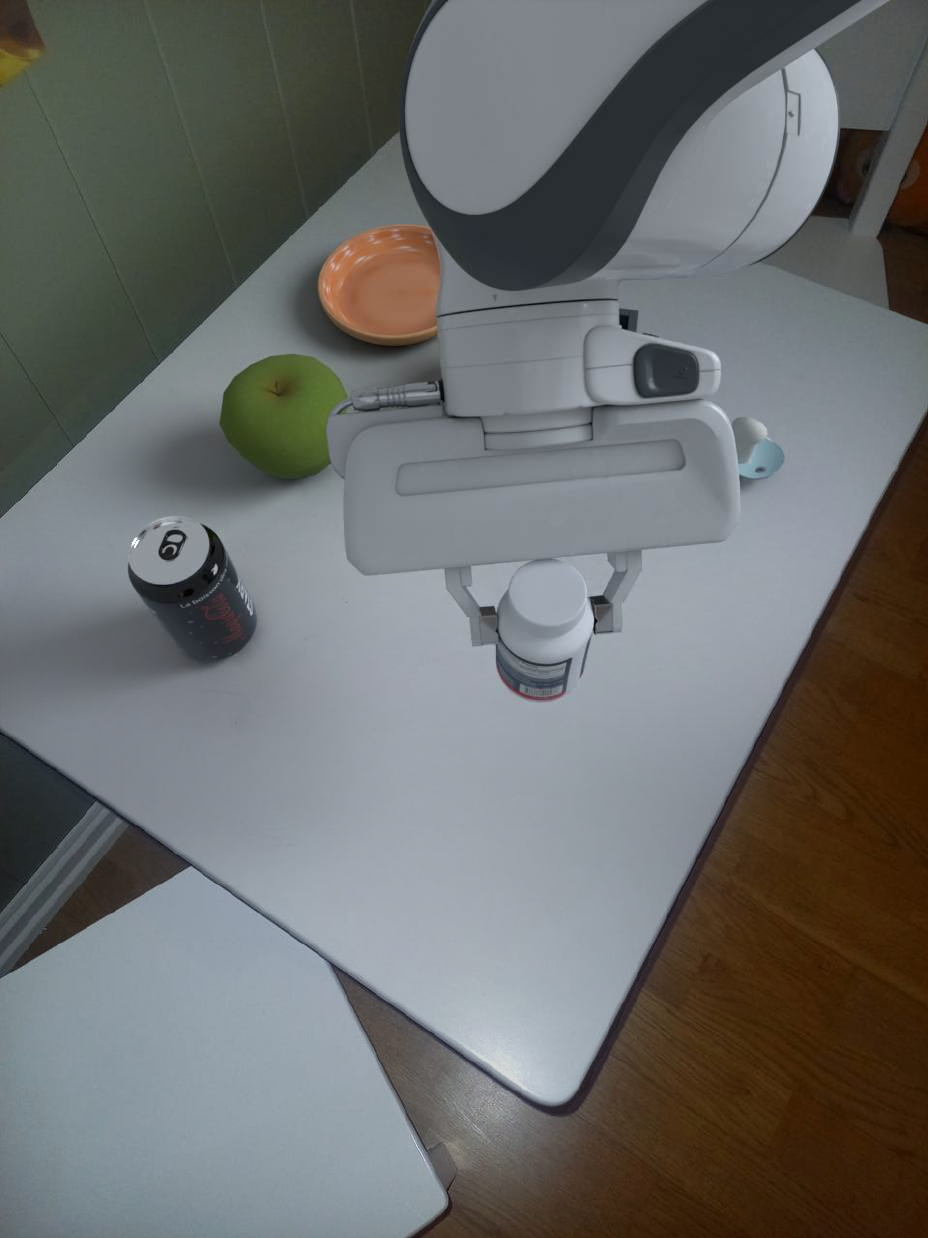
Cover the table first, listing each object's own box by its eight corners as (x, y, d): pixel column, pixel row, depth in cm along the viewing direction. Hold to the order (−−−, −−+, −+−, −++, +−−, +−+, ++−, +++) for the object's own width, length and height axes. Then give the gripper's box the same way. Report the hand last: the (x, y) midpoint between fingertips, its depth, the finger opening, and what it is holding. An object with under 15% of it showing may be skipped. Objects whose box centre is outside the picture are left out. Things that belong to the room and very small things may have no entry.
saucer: (336, 373, 81) (331, 349, 79) (311, 263, 89) (305, 238, 86) (497, 341, 83) (497, 317, 80) (459, 235, 90) (458, 210, 88)
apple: (332, 397, 80) (313, 314, 71) (377, 476, 75) (362, 398, 67) (224, 439, 78) (190, 359, 69) (263, 523, 73) (232, 449, 65)
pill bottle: (537, 608, 52) (546, 528, 44) (601, 663, 50) (622, 588, 43) (476, 664, 51) (474, 590, 43) (541, 722, 49) (551, 656, 41)
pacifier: (711, 420, 78) (687, 465, 75) (729, 369, 72) (704, 415, 70) (789, 448, 76) (767, 496, 73) (813, 398, 70) (791, 447, 68)
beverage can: (271, 599, 70) (232, 516, 59) (244, 674, 67) (198, 599, 56) (193, 586, 71) (141, 501, 60) (163, 659, 68) (102, 583, 57)
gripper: (312, 393, 39) (350, 676, 43) (755, 353, 39) (750, 636, 43) (327, 389, 45) (359, 637, 49) (710, 354, 45) (710, 603, 49)
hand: (546, 636), depth 46 cm, fingers closed on pill bottle, 5 cm apart
